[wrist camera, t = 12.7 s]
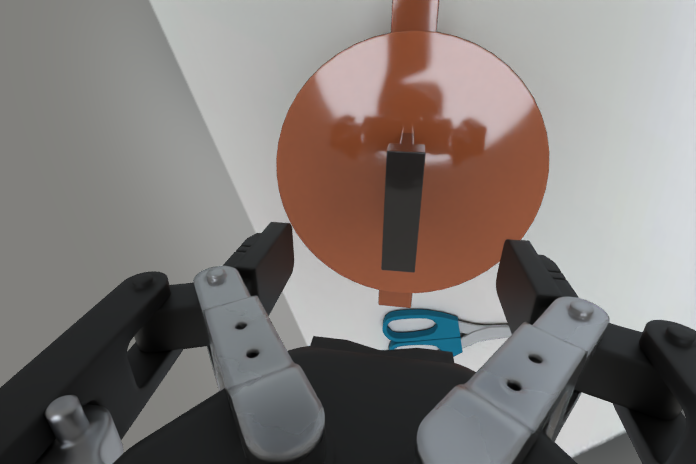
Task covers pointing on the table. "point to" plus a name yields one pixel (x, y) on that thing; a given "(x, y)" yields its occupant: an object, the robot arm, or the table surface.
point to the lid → (412, 161)
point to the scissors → (441, 331)
